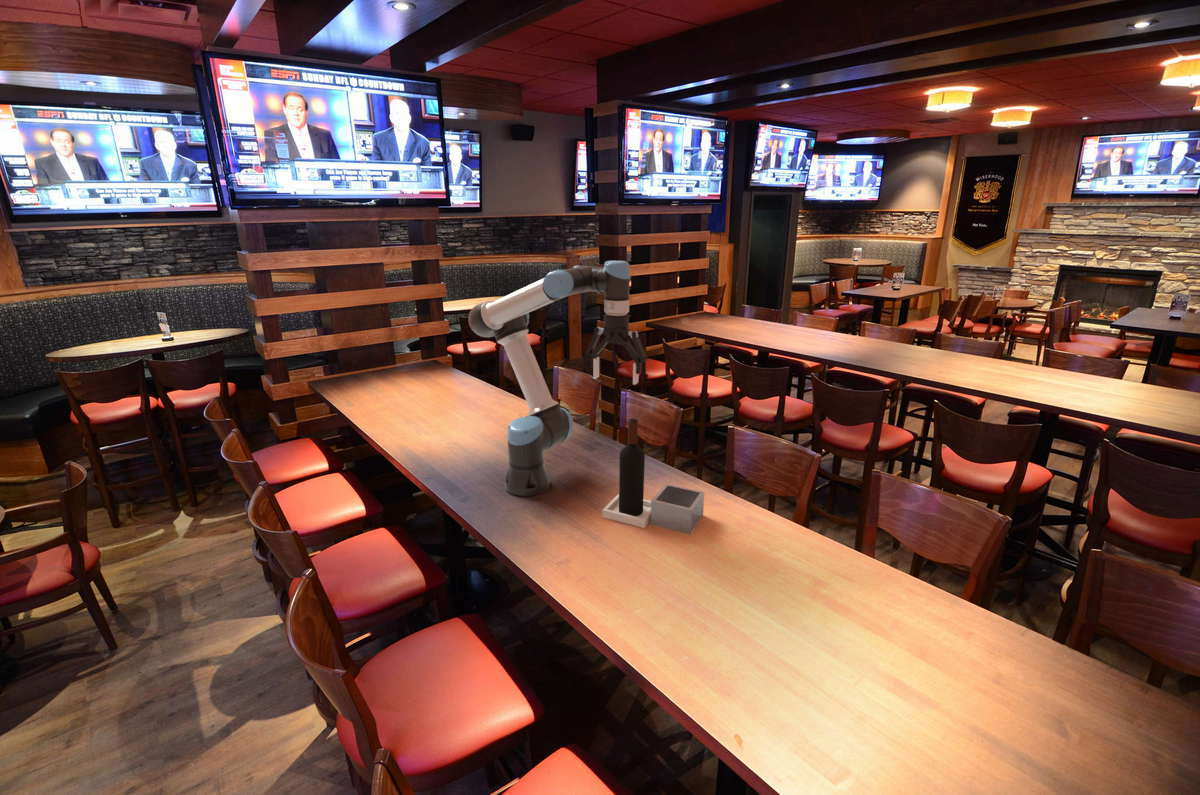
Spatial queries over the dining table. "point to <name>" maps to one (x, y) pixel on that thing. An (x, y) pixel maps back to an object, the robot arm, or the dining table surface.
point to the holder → (677, 508)
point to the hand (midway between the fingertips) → (615, 380)
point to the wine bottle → (631, 474)
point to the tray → (613, 513)
